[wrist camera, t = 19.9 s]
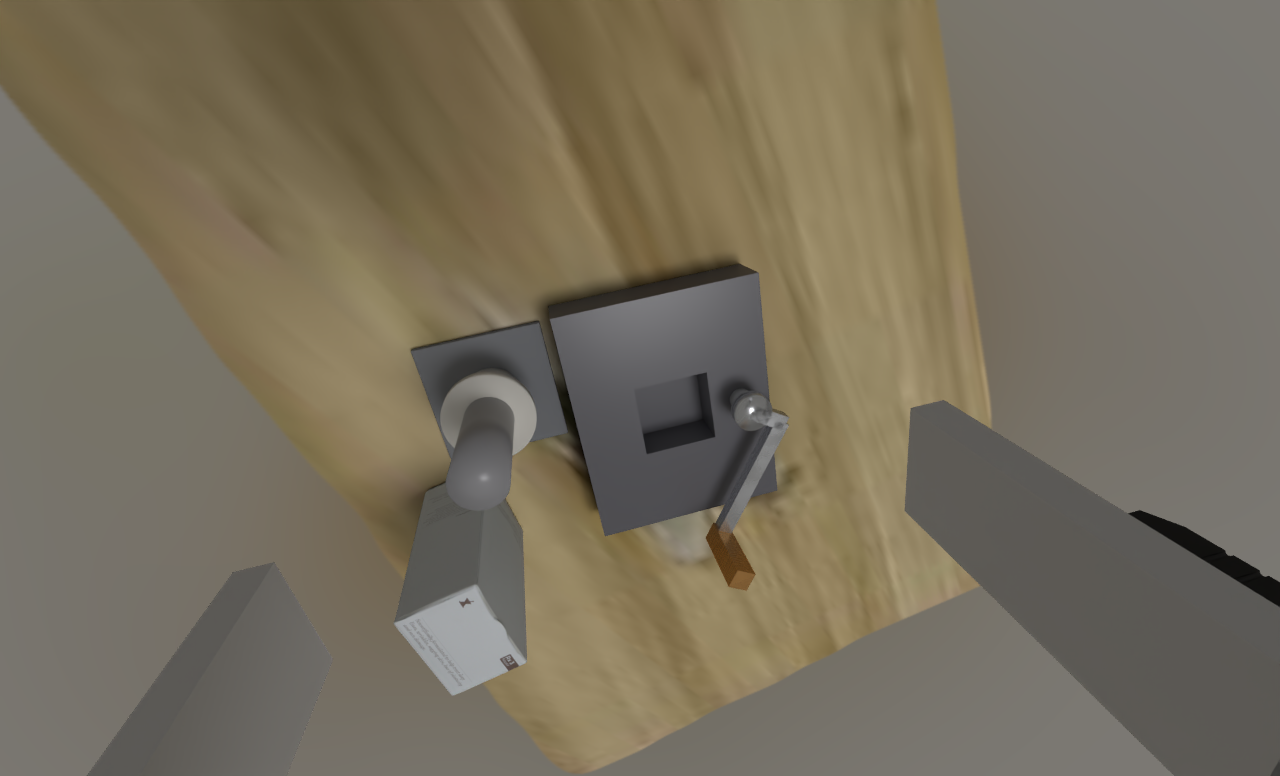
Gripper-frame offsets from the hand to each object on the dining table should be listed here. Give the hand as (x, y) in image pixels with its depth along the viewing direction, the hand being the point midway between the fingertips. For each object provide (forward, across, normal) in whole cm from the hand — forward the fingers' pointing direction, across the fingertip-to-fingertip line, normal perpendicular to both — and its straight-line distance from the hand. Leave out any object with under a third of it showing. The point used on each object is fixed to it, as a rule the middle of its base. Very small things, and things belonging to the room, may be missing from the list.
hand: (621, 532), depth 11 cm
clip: (+27, +10, -19) cm, 34 cm away
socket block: (+33, +6, -14) cm, 36 cm away
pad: (+33, -8, -10) cm, 35 cm away
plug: (+32, -8, -10) cm, 35 cm away
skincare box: (+33, -12, -21) cm, 41 cm away
